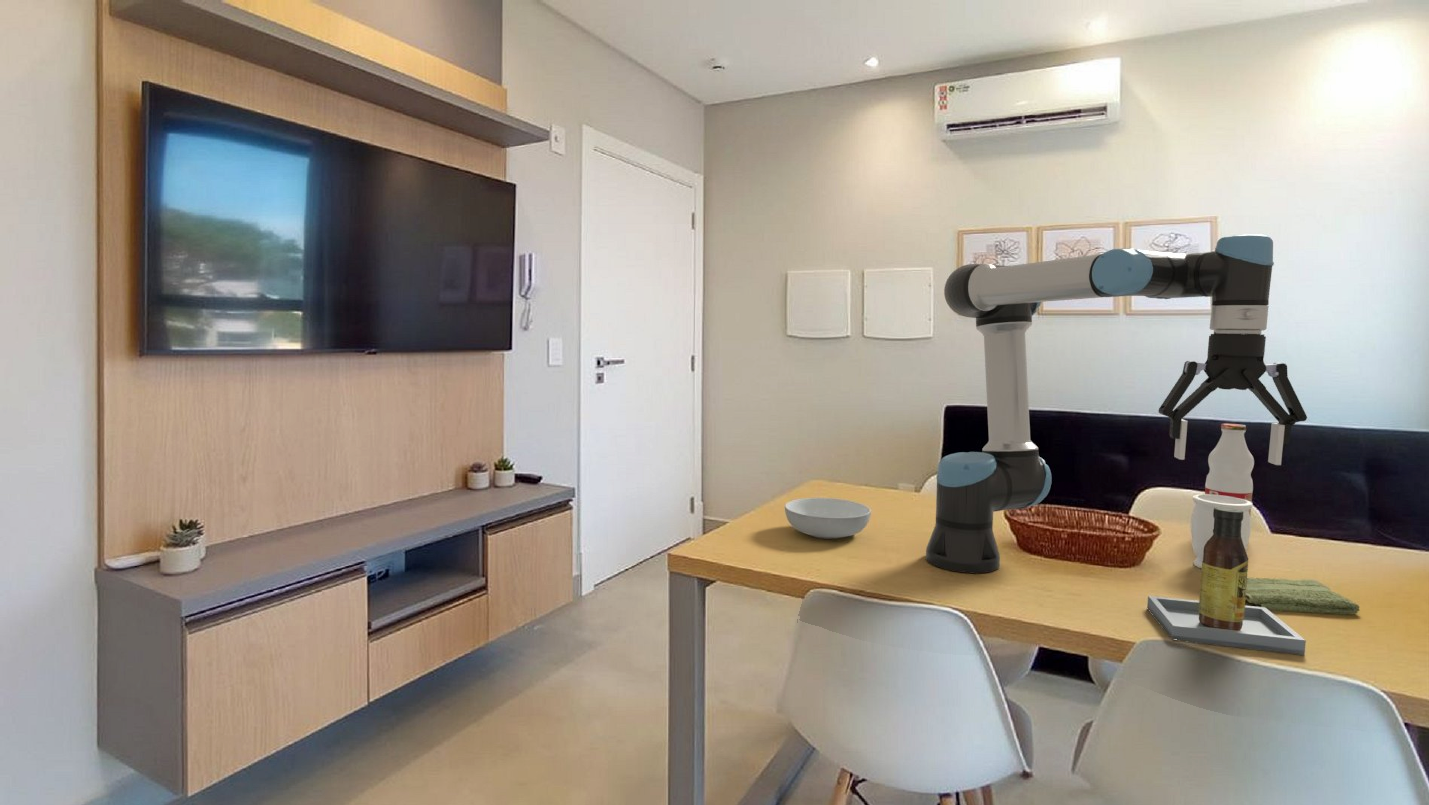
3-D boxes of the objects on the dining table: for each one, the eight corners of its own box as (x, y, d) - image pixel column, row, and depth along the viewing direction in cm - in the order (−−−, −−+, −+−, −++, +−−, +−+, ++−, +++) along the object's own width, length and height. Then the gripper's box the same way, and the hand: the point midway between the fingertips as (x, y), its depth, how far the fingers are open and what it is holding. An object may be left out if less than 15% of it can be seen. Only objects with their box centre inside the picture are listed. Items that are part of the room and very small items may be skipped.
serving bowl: (878, 547, 166) (879, 518, 165) (787, 546, 166) (788, 517, 165) (861, 523, 186) (862, 497, 186) (781, 522, 187) (781, 496, 186)
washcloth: (1216, 587, 142) (1218, 571, 142) (1318, 594, 139) (1319, 577, 139) (1252, 612, 130) (1253, 594, 129) (1365, 620, 126) (1366, 602, 126)
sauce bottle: (1244, 636, 116) (1255, 516, 114) (1198, 628, 119) (1207, 510, 117) (1240, 623, 121) (1250, 508, 119) (1196, 615, 125) (1205, 503, 123)
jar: (1257, 578, 146) (1263, 506, 145) (1201, 574, 148) (1206, 503, 147) (1231, 562, 157) (1236, 494, 155) (1179, 558, 159) (1183, 492, 157)
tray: (1172, 640, 116) (1173, 625, 116) (1147, 608, 129) (1148, 595, 129) (1304, 655, 111) (1305, 640, 111) (1264, 620, 124) (1265, 607, 124)
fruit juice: (1258, 542, 172) (1268, 426, 170) (1224, 543, 171) (1233, 427, 168) (1224, 531, 182) (1233, 422, 179) (1192, 532, 180) (1200, 422, 177)
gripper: (1157, 331, 117) (1147, 459, 119) (1342, 333, 109) (1328, 470, 112) (1144, 331, 124) (1135, 452, 126) (1317, 333, 117) (1304, 461, 119)
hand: (1226, 461), depth 119 cm, fingers open, 13 cm apart
